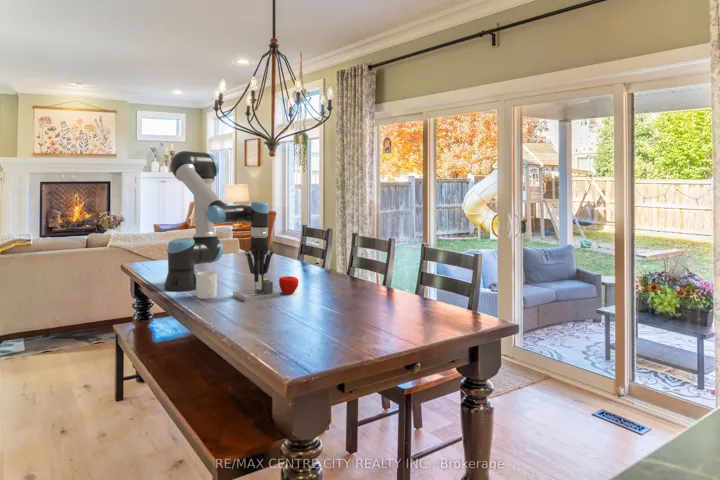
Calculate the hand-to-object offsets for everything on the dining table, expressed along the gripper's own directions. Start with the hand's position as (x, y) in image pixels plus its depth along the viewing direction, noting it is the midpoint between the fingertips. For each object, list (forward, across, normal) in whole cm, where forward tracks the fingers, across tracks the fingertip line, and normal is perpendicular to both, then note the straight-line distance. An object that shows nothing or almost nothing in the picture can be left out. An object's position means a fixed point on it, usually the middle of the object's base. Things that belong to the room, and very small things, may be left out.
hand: (258, 288), depth 218 cm
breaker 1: (+2, +3, +5) cm, 6 cm away
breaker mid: (+2, +3, 0) cm, 4 cm away
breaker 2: (+2, +3, -4) cm, 5 cm away
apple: (+4, +15, -1) cm, 15 cm away
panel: (+4, -1, 0) cm, 4 cm away
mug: (+4, -20, +9) cm, 22 cm away
